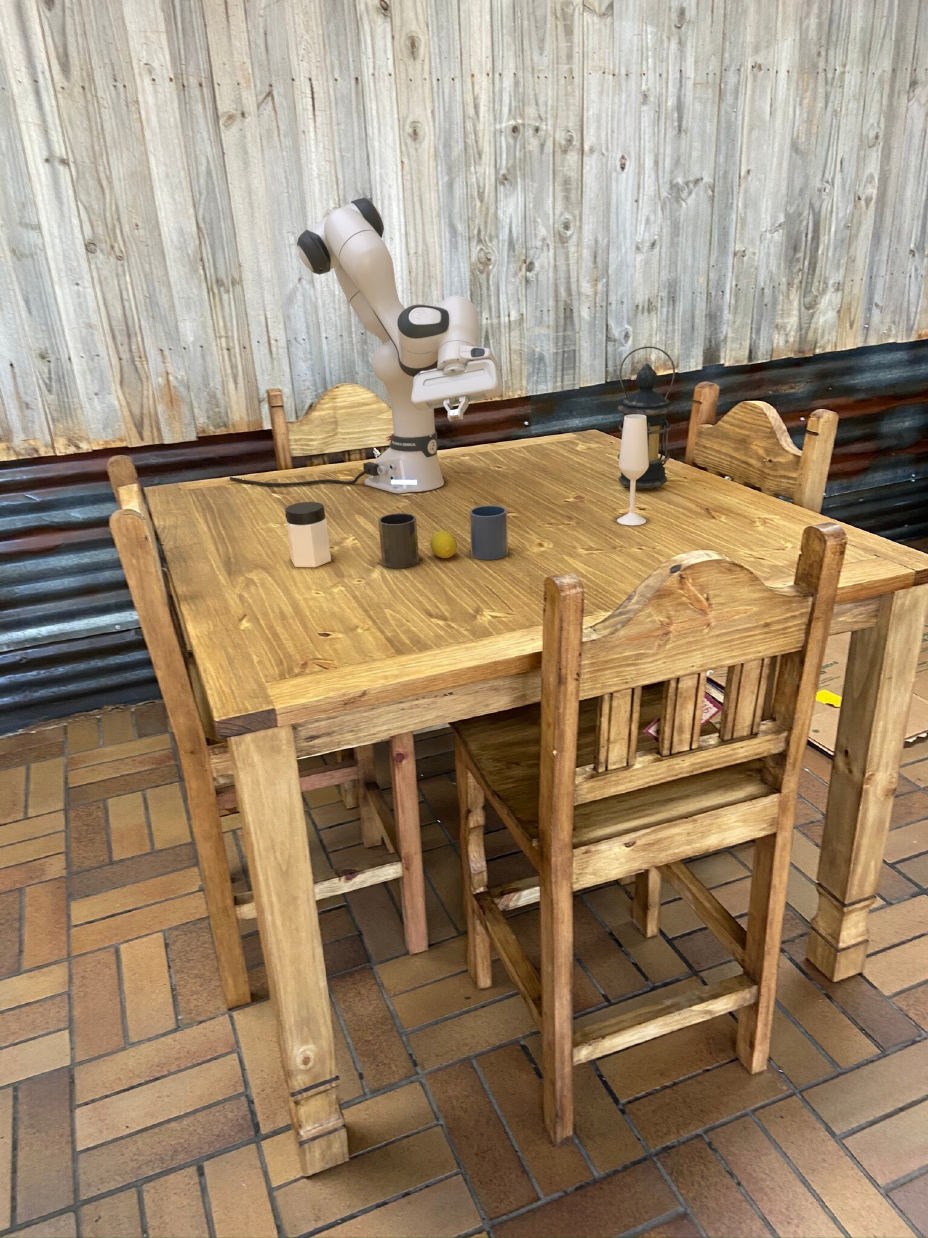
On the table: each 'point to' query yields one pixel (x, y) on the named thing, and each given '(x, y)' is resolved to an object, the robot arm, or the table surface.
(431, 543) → the lemon
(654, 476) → the lantern
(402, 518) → the charcoal cup
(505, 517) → the slate cup
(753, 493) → the table surface
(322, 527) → the jar
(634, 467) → the champagne flute
